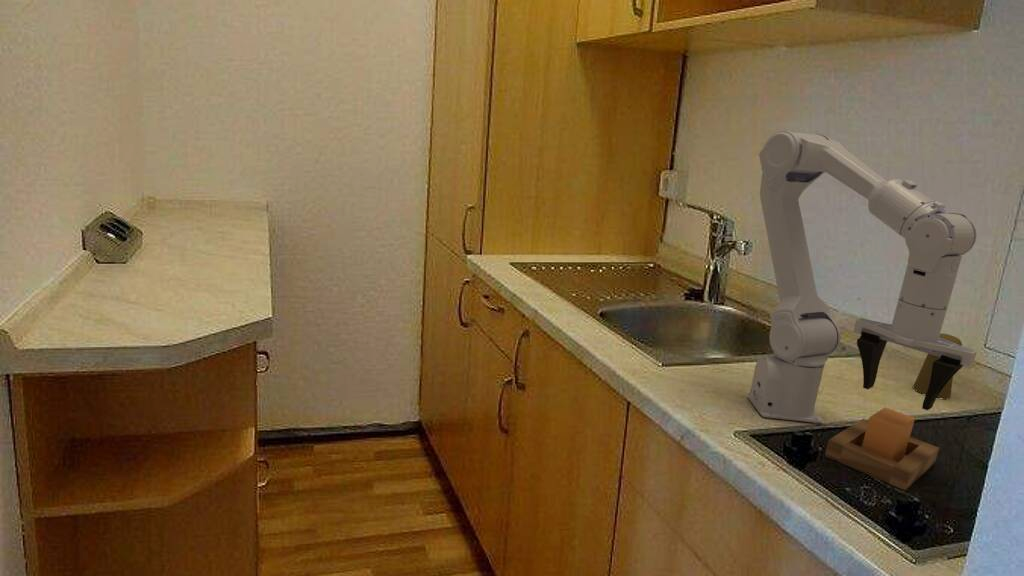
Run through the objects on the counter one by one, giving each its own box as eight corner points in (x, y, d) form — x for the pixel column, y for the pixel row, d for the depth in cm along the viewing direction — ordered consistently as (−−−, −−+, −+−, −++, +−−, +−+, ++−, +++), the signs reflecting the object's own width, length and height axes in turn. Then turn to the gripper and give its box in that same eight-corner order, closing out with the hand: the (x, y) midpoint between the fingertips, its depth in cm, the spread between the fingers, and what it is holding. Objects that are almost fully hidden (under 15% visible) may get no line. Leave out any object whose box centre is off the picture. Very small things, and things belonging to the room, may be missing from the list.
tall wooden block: (889, 468, 95) (900, 428, 93) (859, 456, 98) (869, 417, 96) (904, 456, 99) (915, 418, 97) (874, 444, 102) (885, 407, 100)
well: (905, 490, 90) (910, 473, 89) (824, 456, 97) (828, 439, 97) (934, 463, 99) (939, 447, 98) (858, 433, 106) (862, 418, 105)
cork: (916, 382, 131) (931, 327, 128) (952, 393, 128) (969, 337, 125) (909, 390, 127) (925, 333, 124) (947, 402, 123) (964, 343, 120)
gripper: (855, 291, 95) (832, 384, 98) (976, 323, 85) (946, 425, 88) (874, 286, 99) (852, 374, 103) (991, 315, 90) (962, 412, 93)
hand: (896, 397), depth 96 cm, fingers open, 7 cm apart
